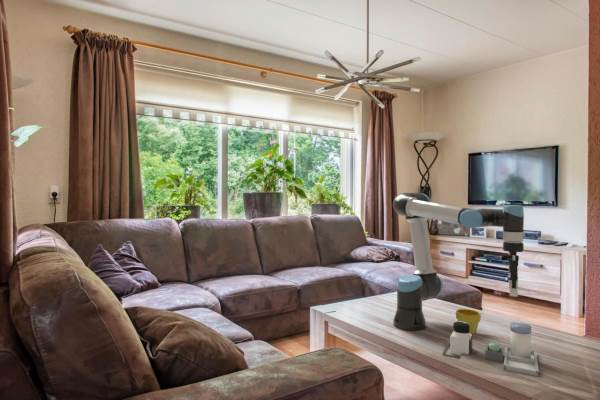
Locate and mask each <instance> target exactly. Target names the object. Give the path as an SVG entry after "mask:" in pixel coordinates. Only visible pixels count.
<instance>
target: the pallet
mask: <svg viewBox="0 0 600 400" xmlns="http://www.w3.org/2000/svg"><path fill="white" fill-rule="evenodd" d="M484 355H485V357H484V360H485V359H486V360H490V361H491V360H492V361H496V362H497V361H498V362H502V363H503V370H504V371H509V372H515V373H520V374H524V375H531V376H535V377H539V373H540V370H539V363H538V362H539V361H538V355H537V350H532V349H531V359H526V358H520V357H514V356H510V346H507V345H505V346H504V348H503V347H500V352H494V351H489V345H485V350H484Z"/></svg>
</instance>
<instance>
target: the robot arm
mask: <svg viewBox="0 0 600 400" xmlns="http://www.w3.org/2000/svg"><path fill="white" fill-rule="evenodd" d="M392 207H393V210H394V211H395V212H396V214H397V215H399V216H403V217H404V216H405V217H404V218H405V221H406V222H408V224H409V232H410V237H411V245H412V246H411V247H412V252H413V253H412V255H413V261H414V268H415V269H414V271H413V272H412V274H409V275H407V274H406V275H402V276H400V277H399V278H398V279H397V283H396V303H397V304H396V310H395V314H394V318H393V319H392V320H393V323H392V325H393V326H395V327H396V328H397V329H401V330H406V331H421V330H424V329H426V328H427V321H426V318H425V315H424V312H423V302H424V301H428V300H433V299H435V298H437V297H439V296H440V295H441V294H442V293H443V290H444V283H443V280H442V279H441V278H440V276H439V275H438V272H437V270H436V269H434V266H433V259H432V251H431V244H430V235H429V230H428V220H429V219H431V220H436V221H441V222H445V223H451V224H455V225H460V226H463V227H464V228H467V229H476V228H477V229H478V228H485V227H499V228H500V227H501V228H502V240H503V243H502V250H503V251H504V252H508V254H507V262H508V289H509V297H519V295H518V294H519V293H518V290H519V289H518V288H519V287H518V286H519V284H518V280H519V275H518V273H519V272H518V271H519V270H518V267H519V259H520V256H519V255H517V253H523V252H524V248H525V247H524V244H525V243H523V242H524V237H525V236H526V234H525V233H524V221H525V213H524V207H523V205H522V204H504V205H503V208H502V209H498V208H478V209H474V208H473V209H472V208H468V207H467V208H466V207H461V206H455V205H449V204H445V203H444V204H443V203H438V202H432V200H431V198H430V196H428V195H427V194H425V193H423V192H422V193H421V192H402V193H399V194H397V195H396V196H395V198H394V199H393V201H392Z"/></svg>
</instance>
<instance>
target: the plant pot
mask: <svg viewBox="0 0 600 400" xmlns="http://www.w3.org/2000/svg"><path fill="white" fill-rule="evenodd" d="M481 315H482V313H481V312H480V311H477V310H475V309H469V308H458V309H456V310H455V318H456V320H457V321H461V322H466V323H468V324H469V325H470V334H477V331H478V326H479V323H480V322H481Z"/></svg>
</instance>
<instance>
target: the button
mask: <svg viewBox="0 0 600 400" xmlns="http://www.w3.org/2000/svg"><path fill="white" fill-rule="evenodd" d="M488 344H489V345H488V346H489V351H494V352H500V348H501V344H500V343H497V342H489V343H488Z"/></svg>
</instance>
